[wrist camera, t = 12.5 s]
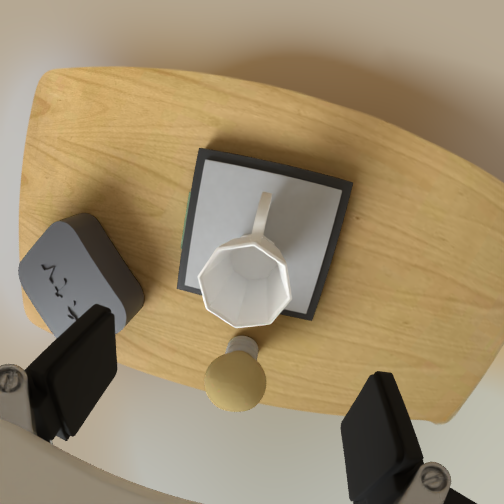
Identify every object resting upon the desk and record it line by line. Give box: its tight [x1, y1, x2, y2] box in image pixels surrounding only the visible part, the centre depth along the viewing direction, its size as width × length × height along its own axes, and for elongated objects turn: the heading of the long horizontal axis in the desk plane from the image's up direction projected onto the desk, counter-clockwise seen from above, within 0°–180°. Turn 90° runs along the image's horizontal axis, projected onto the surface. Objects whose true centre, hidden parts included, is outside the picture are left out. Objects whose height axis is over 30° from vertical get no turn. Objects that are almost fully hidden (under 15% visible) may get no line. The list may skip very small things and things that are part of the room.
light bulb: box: [204, 336, 266, 412], centre depth 31 cm, size 6×6×10 cm
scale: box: [177, 148, 353, 321], centre depth 30 cm, size 15×15×3 cm
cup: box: [197, 191, 292, 328], centre depth 25 cm, size 7×10×8 cm
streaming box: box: [18, 213, 144, 339], centre depth 33 cm, size 14×14×5 cm
